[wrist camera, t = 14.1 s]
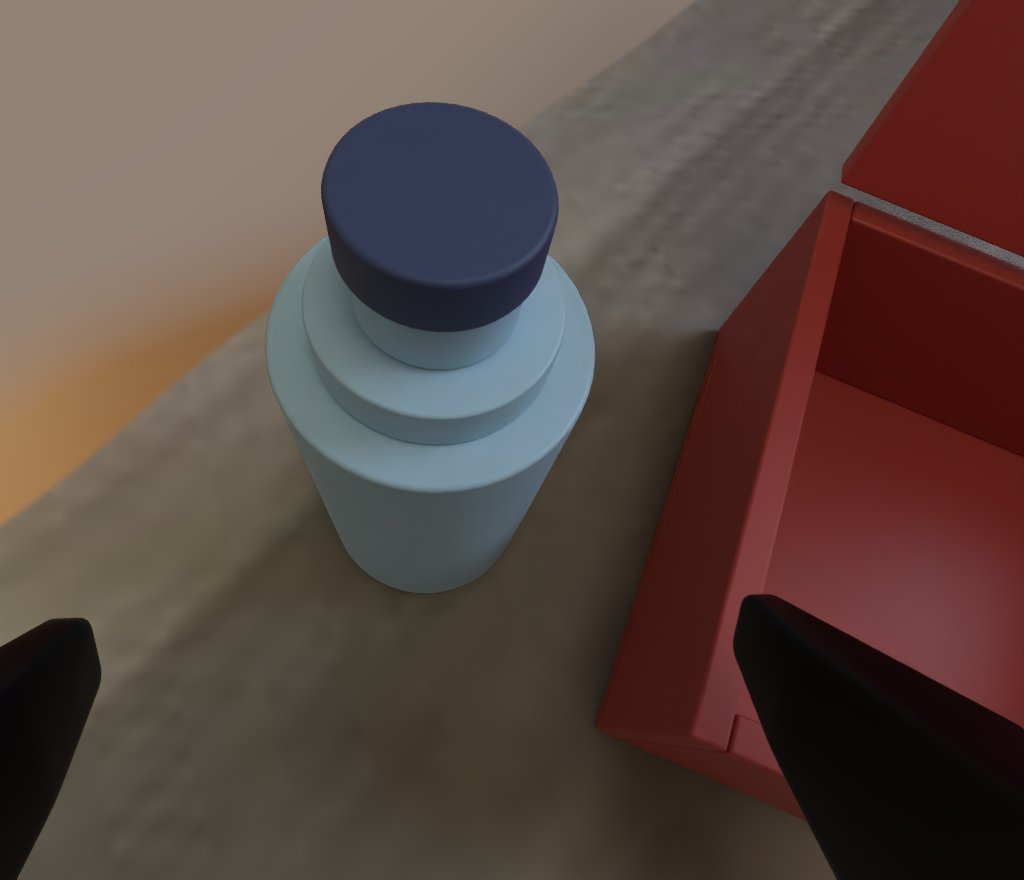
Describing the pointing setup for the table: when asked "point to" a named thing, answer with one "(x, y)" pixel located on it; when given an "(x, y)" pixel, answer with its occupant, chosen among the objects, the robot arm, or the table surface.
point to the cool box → (840, 488)
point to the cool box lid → (956, 129)
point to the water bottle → (431, 343)
